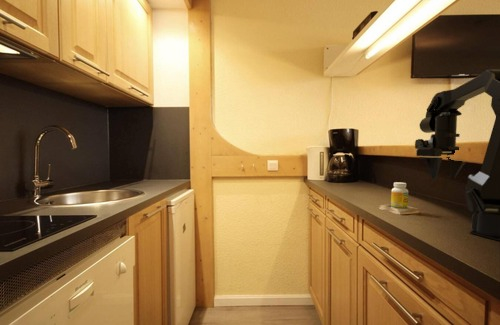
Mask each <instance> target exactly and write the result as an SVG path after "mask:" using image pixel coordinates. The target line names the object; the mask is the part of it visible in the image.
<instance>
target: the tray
mask: <svg viewBox="0 0 500 325" xmlns="http://www.w3.org/2000/svg"><path fill="white" fill-rule="evenodd" d="M379 210H382V211H384V212H389V213H392V214H396V215H399V216H400V215H407V214H408V215H409V214H410V215H412V214H419V213H420V208H419V207H418V208H417V207H412V206H409V205H408V209H405V210H398V209H394V208H391V203H390V204H380V205H379Z"/></svg>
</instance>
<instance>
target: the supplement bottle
mask: <svg viewBox="0 0 500 325" xmlns="http://www.w3.org/2000/svg"><path fill="white" fill-rule="evenodd" d="M390 195H391V197H390V204H391V208H394V209H398V210H405V209H408V206H409V189H407V183H406V182H400V181H399V182H397V181H395V182H393V187H392V188H391V194H390Z"/></svg>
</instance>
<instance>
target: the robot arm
mask: <svg viewBox="0 0 500 325" xmlns="http://www.w3.org/2000/svg"><path fill="white" fill-rule="evenodd" d="M484 93H485V94H487V95H488V96H490V97H491V103H490V106H491V110H492V111H493V113H494V115H495V119H494V123H493V126H492V130H491V133H490V136H489V139H488V140H489V141H488V144H487V145H486V146H487V147H486V150H485V153H484V157H483V161H482V164H481V167H480V170H479V171H478V172H477V173H476V174H469V175H468V176H467V182H466V184H465V186H464V189H465V191H464V198H465V202H466V206H467V210H468V211H470V212H472V213H473V214H472V216H471V230H469V231H468V233H469V234H473V235H475V236H480V237H483V238H487V239H491V240H493V241H500V69H487V70H485V71H483V72H481V73H480V74H479V75H477V76H475V77H473V78H472V79H470V80H468V81H467V82H464V83H462V84H461V85H458V86H457V87H456V88H453V89H450V90H449V89H448V90H442V91H439V92H437V93H435V94H434V95H433V97H432V98H431V101H430V103H429V105H428V107H427V108H426V113H425V117H424V118H422V119H421V121H420V123H419V129H420V131H421V132H423V133H424V134H425V133H426V134H430V133H432V134H431V135H430V139H426V140H424V139H423V138H418V139H416V140H415V141H414V149H416V154H415V155H416V157H418V158H419V159H421V160H422V161H424V163H425V164H426V166H427V169H428V172H429V175H430V178H431V179H433V180H434V179H435V180H436V178H437V176H438V173H439V170H440V167H441V164H442V161H443V157H442V155H443V156H446V155H447V156H446V157H445V158H446V159H447V158H448V159H447V160H448V162H449V170H450V171H449V172H450V178H452V179H455V178H456V177H457V175H459V172H460V171H461V169H462V168H463V166H465V164H466V162H462V161H454V160H451V159H449V158H450V156H448V155H454V153H455V150H459V148H460V146H457V145H456V144H457V138H460V133H457V126H458V125H457V124H458V122H457V121H458V116H462V114H463V113H462V112H461V111H459V110H460V108H461V107H463V106H464V105H465V104H466V101H468V100H470V99H473V98H475V97H478V96H479V95H482V94H484ZM458 109H459V110H458Z"/></svg>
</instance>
